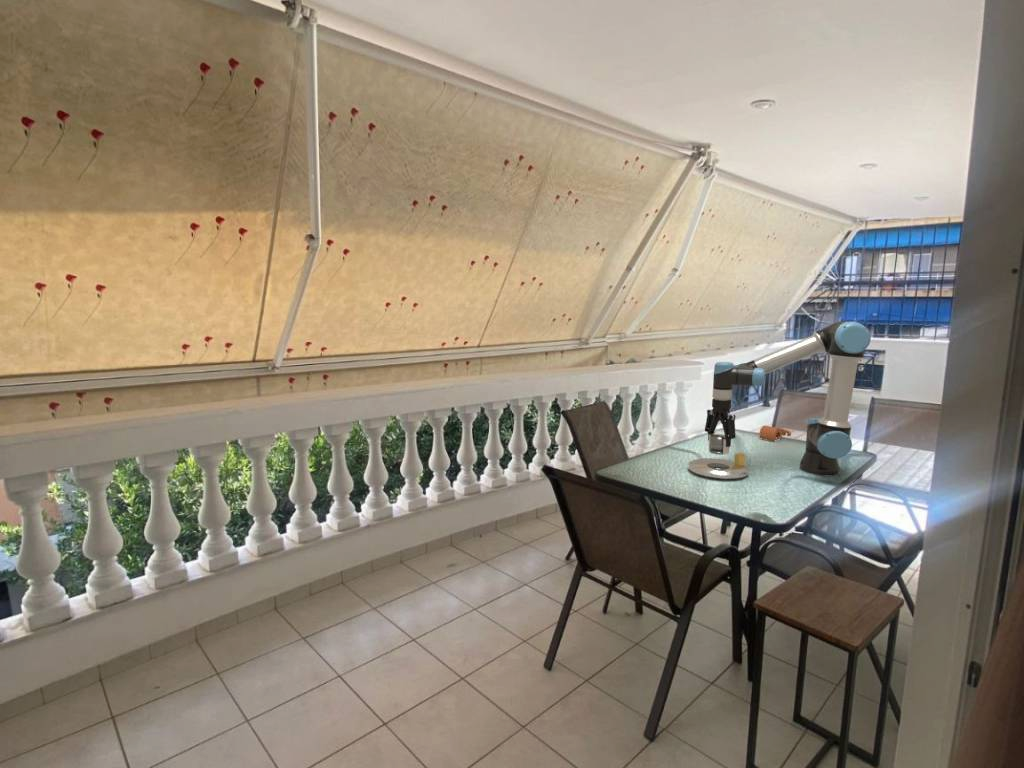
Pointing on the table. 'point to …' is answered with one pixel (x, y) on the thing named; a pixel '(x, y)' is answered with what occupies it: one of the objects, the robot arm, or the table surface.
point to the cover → (717, 444)
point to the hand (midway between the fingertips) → (718, 451)
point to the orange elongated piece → (772, 433)
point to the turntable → (720, 467)
